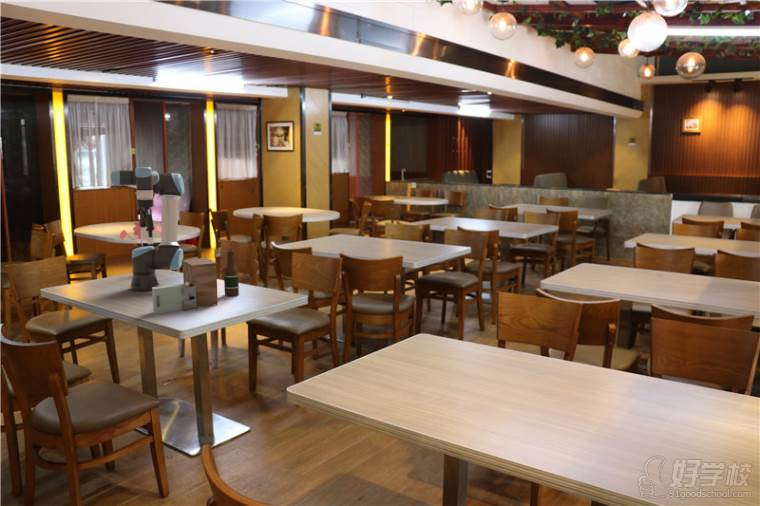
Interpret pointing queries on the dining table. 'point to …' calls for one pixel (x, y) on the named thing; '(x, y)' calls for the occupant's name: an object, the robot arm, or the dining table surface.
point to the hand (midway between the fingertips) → (147, 242)
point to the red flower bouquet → (136, 233)
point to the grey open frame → (192, 302)
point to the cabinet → (202, 280)
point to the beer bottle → (231, 277)
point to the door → (169, 298)
